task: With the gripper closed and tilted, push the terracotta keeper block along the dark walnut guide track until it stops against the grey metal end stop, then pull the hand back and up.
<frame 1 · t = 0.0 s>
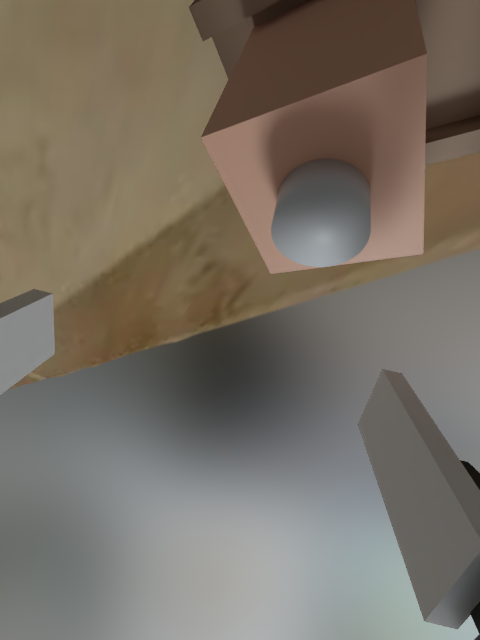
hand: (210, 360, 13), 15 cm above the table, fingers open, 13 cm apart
keeper: (328, 140, 13), point 7 cm above the table, slide at 0.0 cm
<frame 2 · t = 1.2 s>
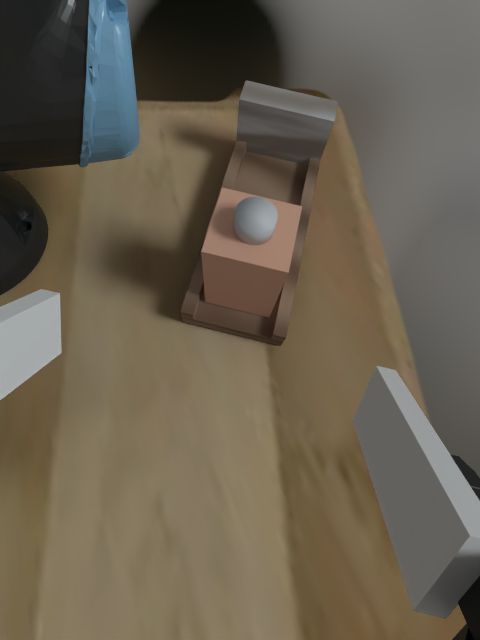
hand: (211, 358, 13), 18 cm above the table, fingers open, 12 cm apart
track: (258, 231, 37), on the table
keeper: (249, 254, 27), point 7 cm above the table, slide at 0.0 cm
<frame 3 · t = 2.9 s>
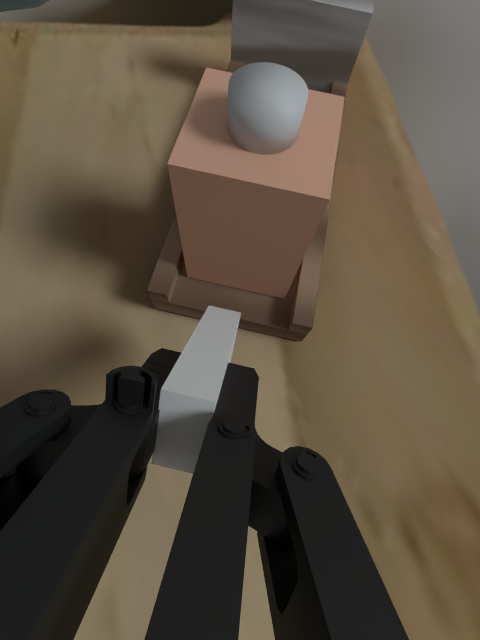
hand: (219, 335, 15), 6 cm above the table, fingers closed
track: (263, 182, 26), on the table
keeper: (253, 192, 17), point 7 cm above the table, slide at 0.0 cm
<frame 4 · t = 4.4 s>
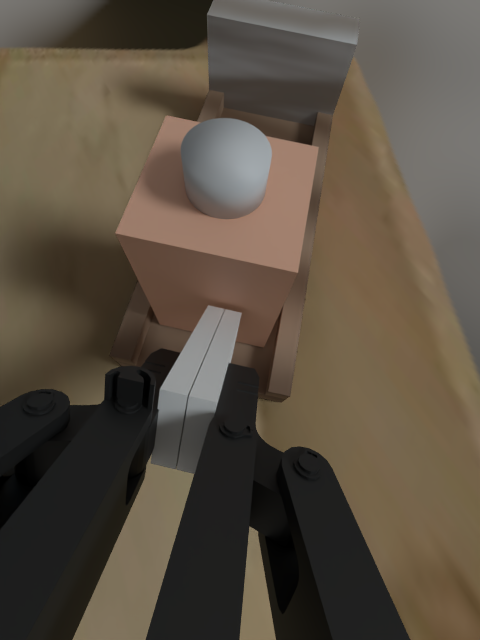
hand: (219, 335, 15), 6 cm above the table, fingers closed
track: (243, 221, 25), on the table
keeper: (224, 243, 16), point 7 cm above the table, slide at 0.7 cm, touching gripper
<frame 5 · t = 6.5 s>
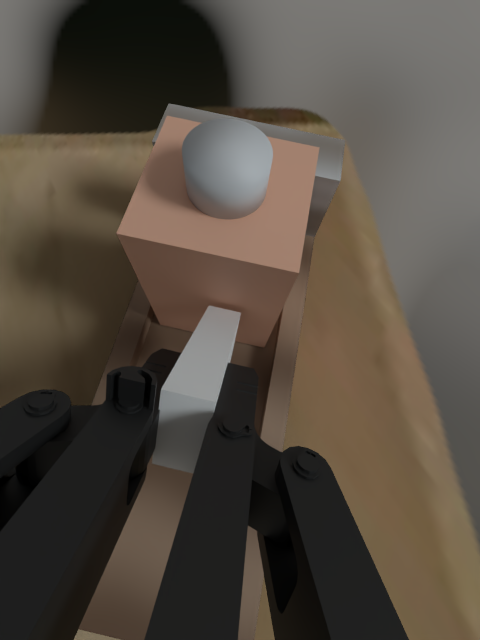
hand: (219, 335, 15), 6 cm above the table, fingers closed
track: (205, 371, 20), on the table
keeper: (224, 244, 16), point 7 cm above the table, slide at 12.5 cm, touching gripper
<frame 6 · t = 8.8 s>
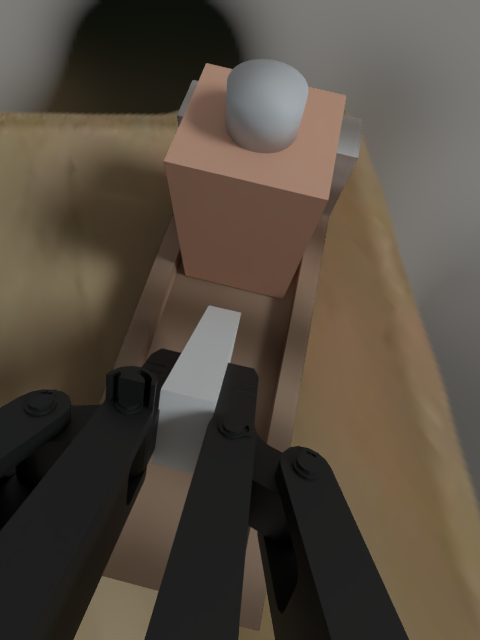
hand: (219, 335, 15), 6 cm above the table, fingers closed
track: (220, 343, 21), on the table
keeper: (252, 191, 17), point 7 cm above the table, slide at 14.0 cm
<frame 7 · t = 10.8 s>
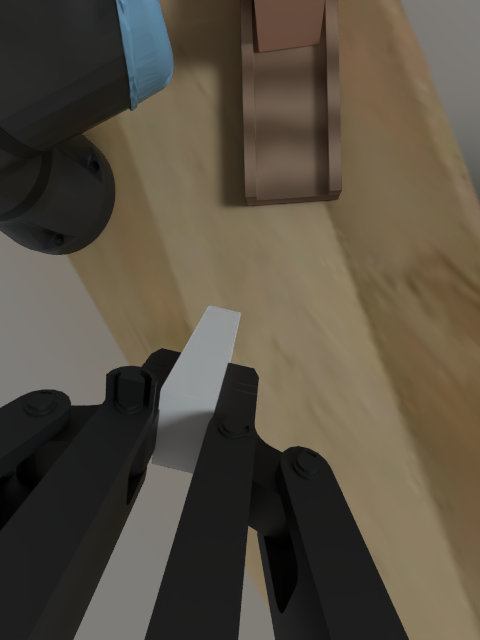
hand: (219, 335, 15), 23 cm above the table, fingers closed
track: (289, 90, 36), on the table
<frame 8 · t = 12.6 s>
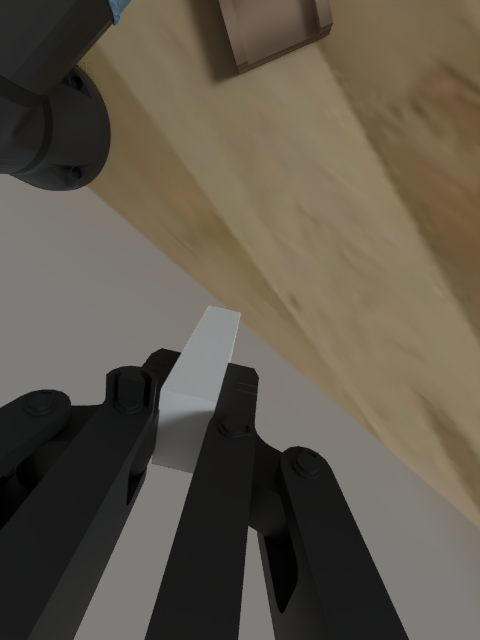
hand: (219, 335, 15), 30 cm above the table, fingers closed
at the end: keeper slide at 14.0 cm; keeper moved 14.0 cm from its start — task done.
